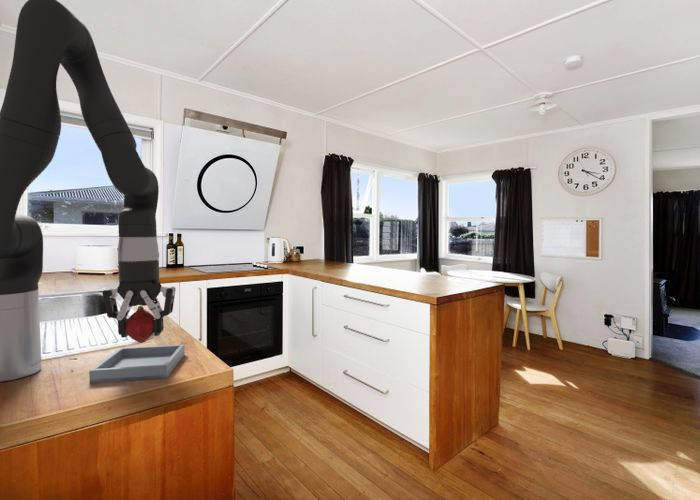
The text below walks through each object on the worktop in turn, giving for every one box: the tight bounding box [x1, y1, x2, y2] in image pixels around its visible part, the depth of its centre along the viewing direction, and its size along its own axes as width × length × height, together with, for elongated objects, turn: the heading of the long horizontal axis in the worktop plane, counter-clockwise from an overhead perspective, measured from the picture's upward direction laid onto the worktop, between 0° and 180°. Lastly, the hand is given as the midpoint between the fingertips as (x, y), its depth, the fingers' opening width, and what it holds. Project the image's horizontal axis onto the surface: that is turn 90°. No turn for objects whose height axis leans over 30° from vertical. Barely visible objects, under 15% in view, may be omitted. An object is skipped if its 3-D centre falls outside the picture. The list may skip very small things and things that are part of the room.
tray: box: [88, 344, 185, 384], centre depth 79 cm, size 14×14×2 cm
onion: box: [126, 305, 155, 344], centre depth 78 cm, size 6×6×8 cm
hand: (141, 335), depth 78 cm, fingers closed on onion, 6 cm apart
